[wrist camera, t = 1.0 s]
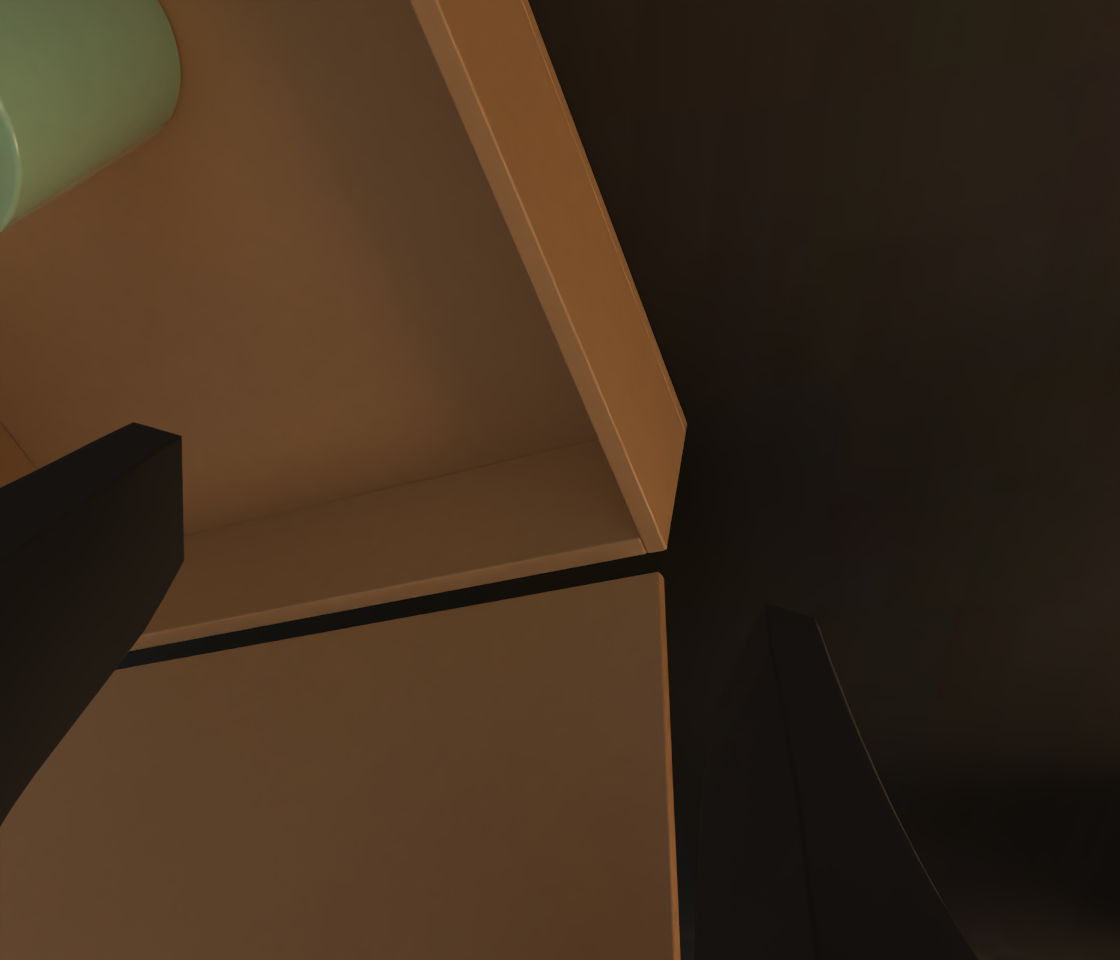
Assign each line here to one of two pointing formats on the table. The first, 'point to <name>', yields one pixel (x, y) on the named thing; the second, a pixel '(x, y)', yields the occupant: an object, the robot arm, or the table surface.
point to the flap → (367, 796)
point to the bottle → (78, 93)
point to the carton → (350, 316)
